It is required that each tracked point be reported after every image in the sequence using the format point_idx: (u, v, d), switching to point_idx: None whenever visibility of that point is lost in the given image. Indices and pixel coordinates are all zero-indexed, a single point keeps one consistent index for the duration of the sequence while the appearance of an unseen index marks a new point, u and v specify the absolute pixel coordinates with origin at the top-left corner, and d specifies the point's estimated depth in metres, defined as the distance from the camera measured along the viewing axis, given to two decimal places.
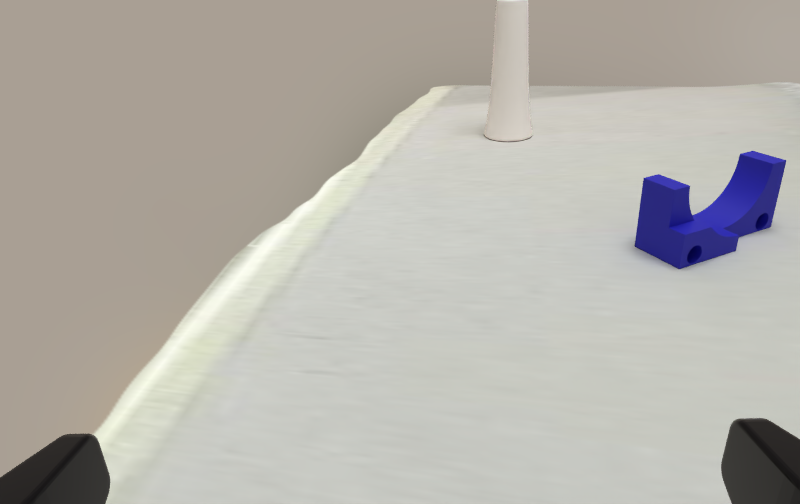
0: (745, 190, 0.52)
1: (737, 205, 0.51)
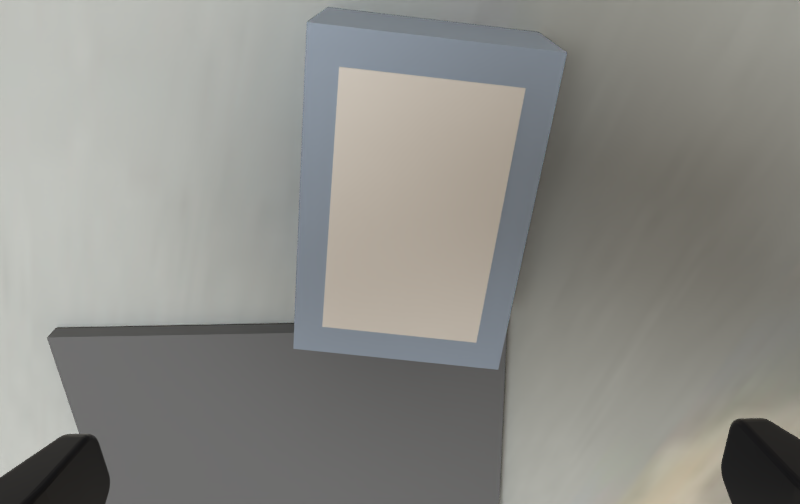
0: None
1: None
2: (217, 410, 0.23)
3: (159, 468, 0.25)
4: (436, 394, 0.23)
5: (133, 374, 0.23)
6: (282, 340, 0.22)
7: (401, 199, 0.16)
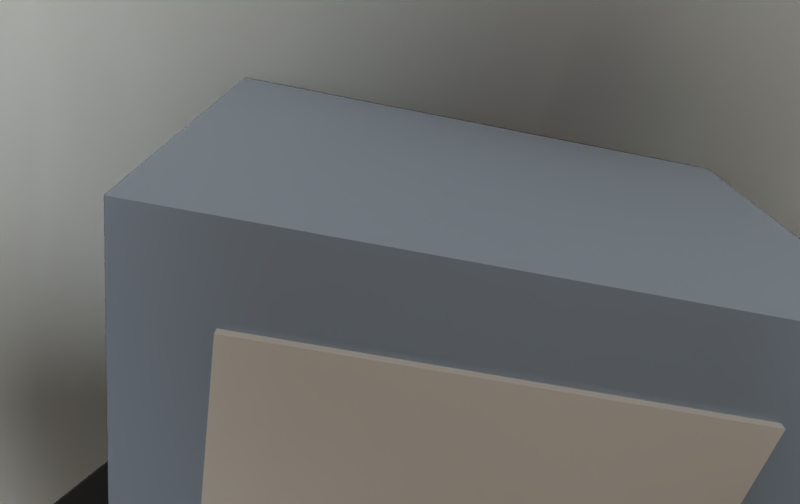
0: None
1: None
2: None
3: None
4: None
5: None
6: None
7: None
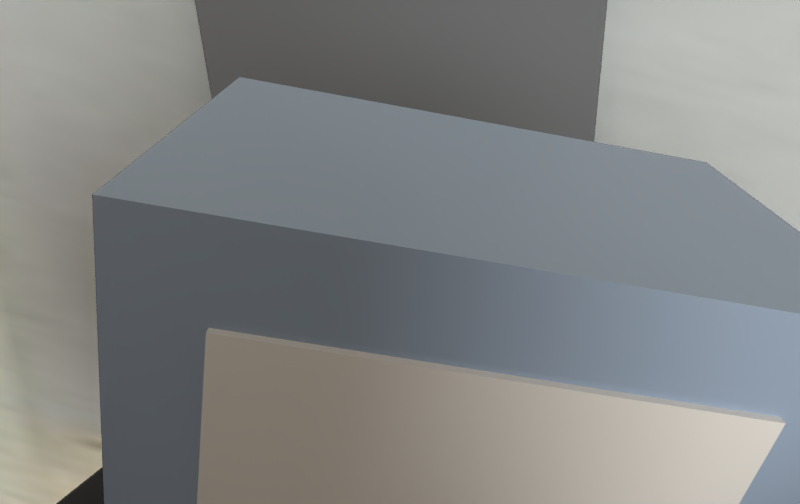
0: None
1: None
2: (468, 103, 0.16)
3: None
4: None
5: None
6: None
7: None
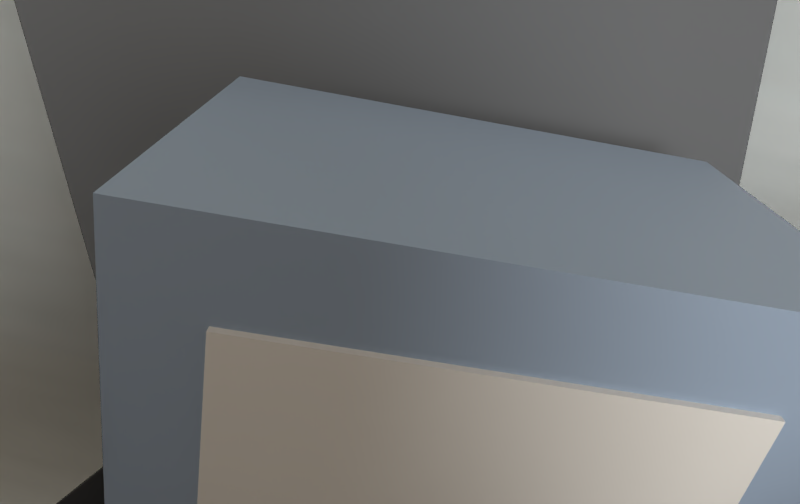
0: None
1: None
2: None
3: (310, 38, 0.09)
4: None
5: (648, 25, 0.08)
6: None
7: None
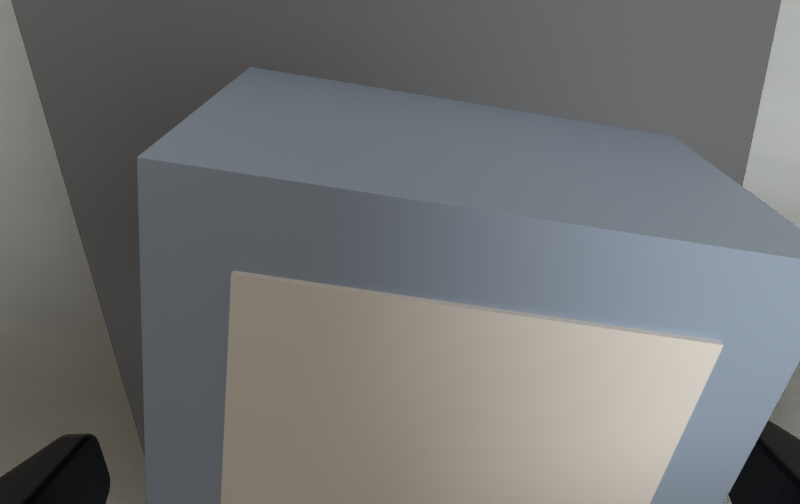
0: None
1: None
2: None
3: (310, 41, 0.08)
4: None
5: (651, 28, 0.08)
6: None
7: None
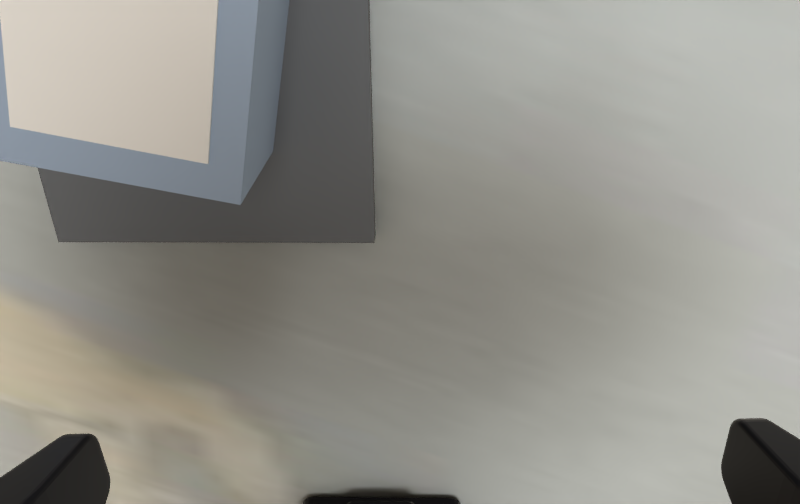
0: None
1: None
2: None
3: None
4: (279, 168, 0.19)
5: None
6: None
7: None
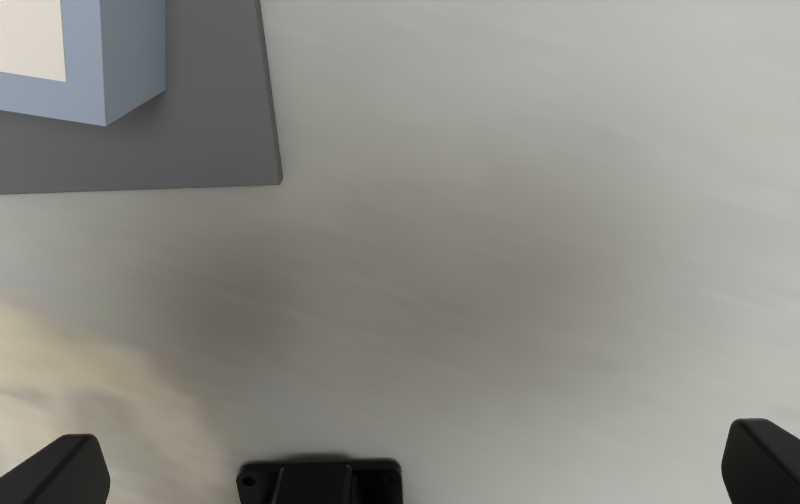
0: None
1: None
2: None
3: None
4: (174, 108, 0.18)
5: None
6: None
7: None
